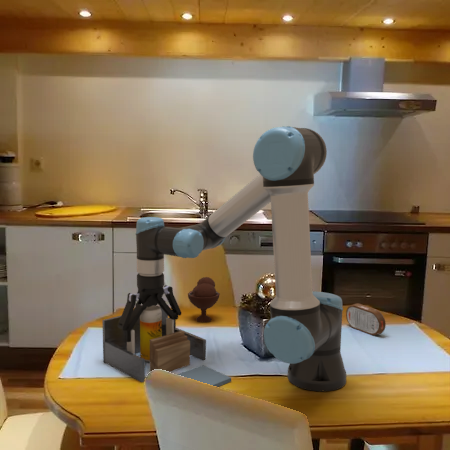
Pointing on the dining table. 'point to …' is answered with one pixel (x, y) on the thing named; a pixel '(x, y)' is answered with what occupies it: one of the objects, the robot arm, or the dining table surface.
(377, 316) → the tin
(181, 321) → the dining table surface
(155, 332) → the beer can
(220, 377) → the mat
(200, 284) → the ice cream bowl
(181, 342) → the offcuts
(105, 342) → the grey open frame
